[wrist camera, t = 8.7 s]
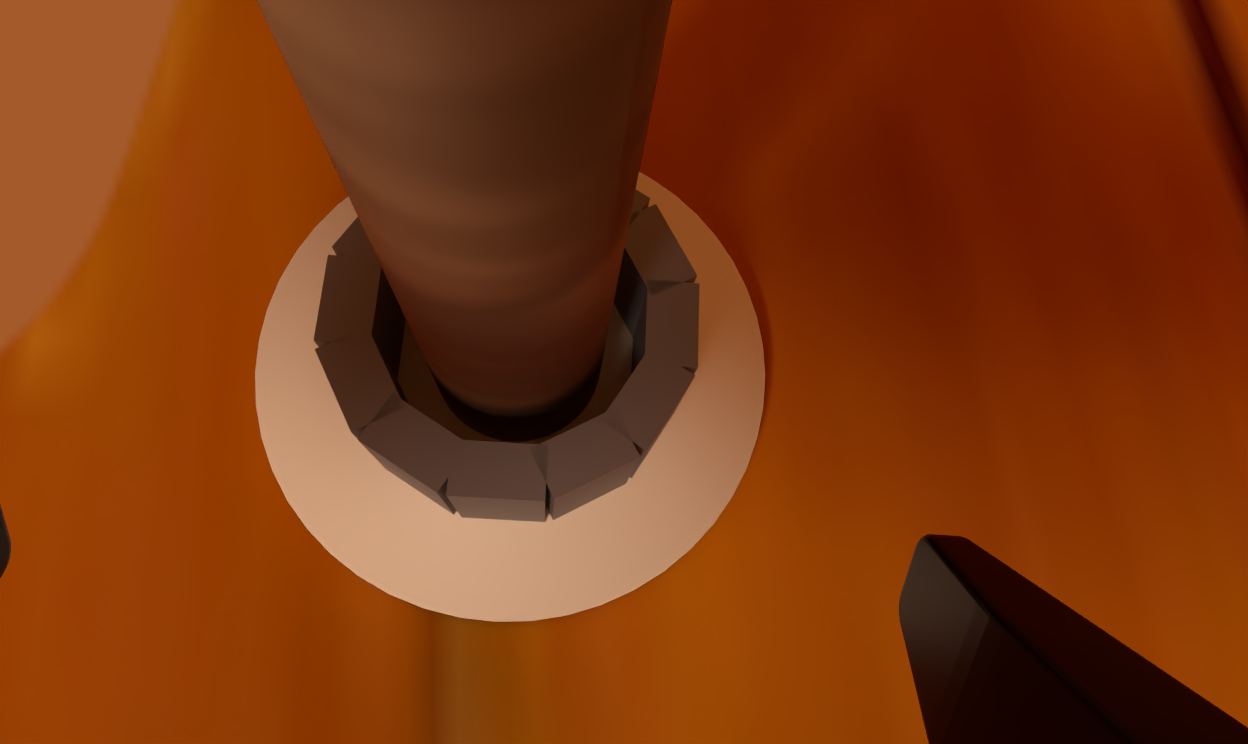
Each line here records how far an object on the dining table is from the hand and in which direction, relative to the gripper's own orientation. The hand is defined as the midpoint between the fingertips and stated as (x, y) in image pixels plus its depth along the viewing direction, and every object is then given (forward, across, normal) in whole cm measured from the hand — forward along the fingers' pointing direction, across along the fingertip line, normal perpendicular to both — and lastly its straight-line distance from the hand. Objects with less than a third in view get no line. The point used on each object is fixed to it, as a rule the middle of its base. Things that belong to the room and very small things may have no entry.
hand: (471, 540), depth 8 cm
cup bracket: (+10, 0, +3) cm, 11 cm away
